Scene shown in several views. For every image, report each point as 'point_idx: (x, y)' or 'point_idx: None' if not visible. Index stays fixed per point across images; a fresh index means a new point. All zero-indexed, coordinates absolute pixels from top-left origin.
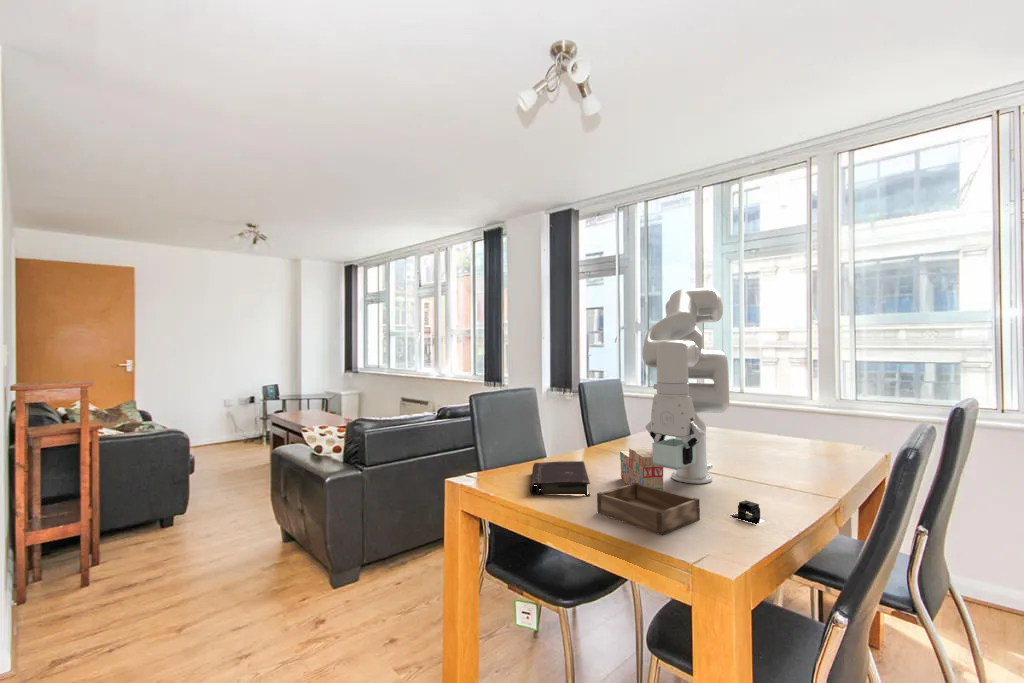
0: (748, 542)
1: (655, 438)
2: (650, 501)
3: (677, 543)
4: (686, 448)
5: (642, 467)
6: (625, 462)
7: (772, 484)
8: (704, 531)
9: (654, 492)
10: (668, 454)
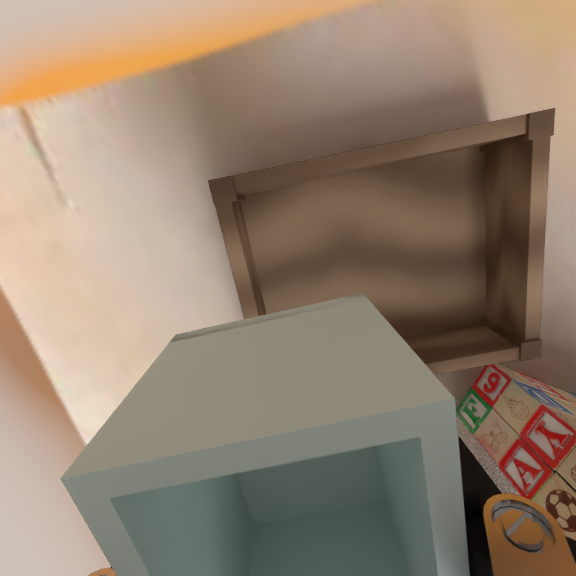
0: (95, 351)
1: (559, 565)
2: (431, 336)
3: (156, 180)
4: (104, 568)
5: None
6: None
7: None
8: (196, 315)
9: (431, 356)
10: (209, 380)
